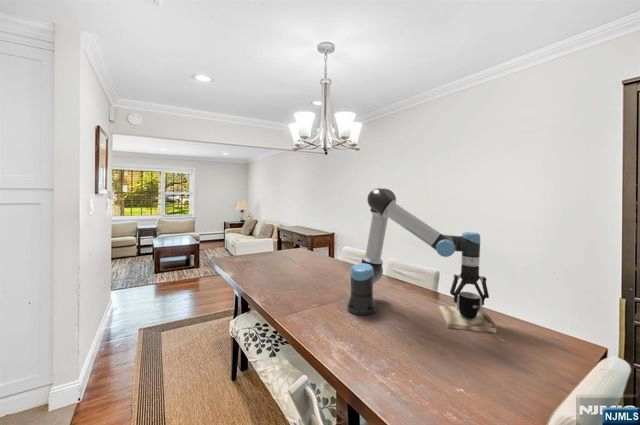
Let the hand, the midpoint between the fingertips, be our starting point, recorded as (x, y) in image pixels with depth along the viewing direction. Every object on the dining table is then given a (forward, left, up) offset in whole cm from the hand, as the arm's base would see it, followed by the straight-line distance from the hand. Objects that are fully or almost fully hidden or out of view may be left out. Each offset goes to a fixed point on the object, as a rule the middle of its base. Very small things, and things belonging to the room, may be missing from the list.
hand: (468, 310), depth 132 cm
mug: (+1, 0, -2) cm, 2 cm away
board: (-1, 0, -5) cm, 5 cm away
